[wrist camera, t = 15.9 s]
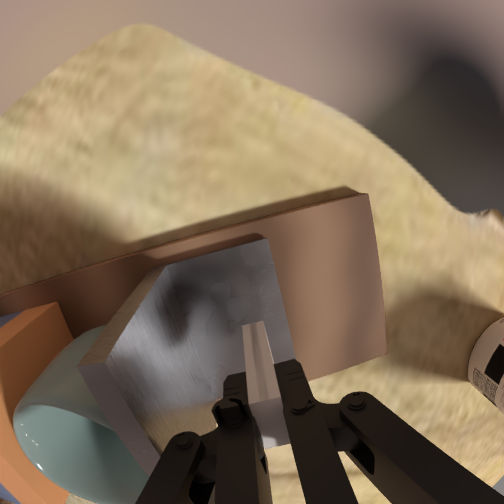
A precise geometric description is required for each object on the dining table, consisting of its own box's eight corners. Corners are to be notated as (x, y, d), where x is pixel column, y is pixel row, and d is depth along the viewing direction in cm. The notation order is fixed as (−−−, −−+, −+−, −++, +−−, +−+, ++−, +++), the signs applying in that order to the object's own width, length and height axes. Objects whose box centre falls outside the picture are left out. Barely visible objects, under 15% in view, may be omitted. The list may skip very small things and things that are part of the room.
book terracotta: (75, 407, 20) (22, 504, 9) (25, 309, 18) (-71, 385, 7) (109, 406, 20) (60, 515, 9) (57, 301, 18) (-45, 387, 7)
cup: (192, 320, 19) (170, 432, 9) (181, 410, 21) (166, 521, 11) (79, 295, 18) (-7, 375, 8) (84, 387, 20) (32, 479, 10)
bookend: (202, 398, 20) (197, 529, 10) (152, 267, 18) (76, 366, 7) (299, 374, 20) (349, 499, 10) (266, 236, 18) (325, 308, 8)
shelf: (43, 414, 21) (-14, 510, 8) (-16, 300, 19) (-117, 368, 6) (380, 346, 22) (479, 456, 9) (360, 193, 20) (521, 214, 7)
